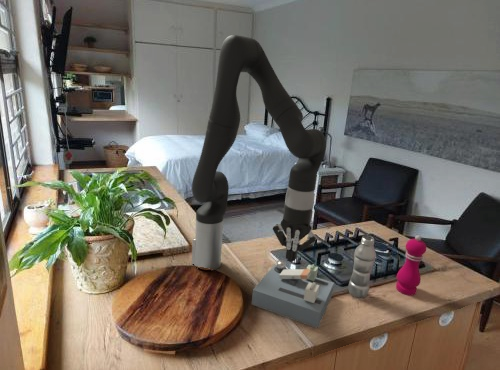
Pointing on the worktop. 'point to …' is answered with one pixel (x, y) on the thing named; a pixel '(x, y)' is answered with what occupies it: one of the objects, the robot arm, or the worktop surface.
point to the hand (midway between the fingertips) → (290, 260)
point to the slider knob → (311, 292)
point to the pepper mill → (411, 267)
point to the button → (281, 265)
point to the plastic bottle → (362, 268)
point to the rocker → (295, 274)
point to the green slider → (312, 272)
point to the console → (292, 297)
